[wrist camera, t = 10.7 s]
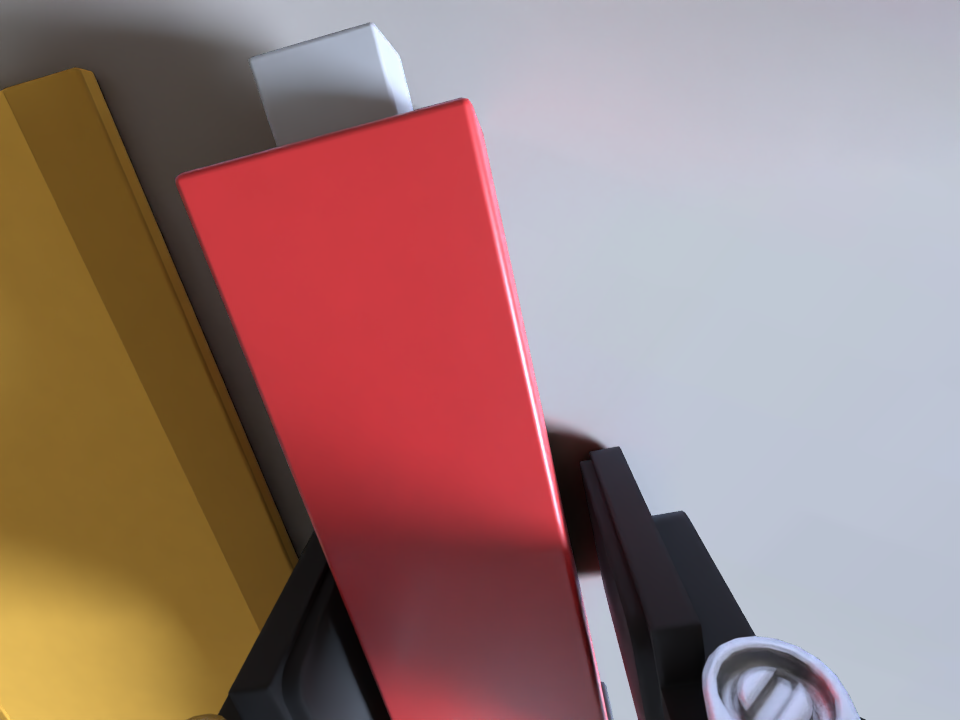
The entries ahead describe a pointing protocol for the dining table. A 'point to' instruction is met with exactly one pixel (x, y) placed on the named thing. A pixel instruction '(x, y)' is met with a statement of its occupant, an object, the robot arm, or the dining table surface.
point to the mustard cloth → (113, 442)
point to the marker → (402, 382)
